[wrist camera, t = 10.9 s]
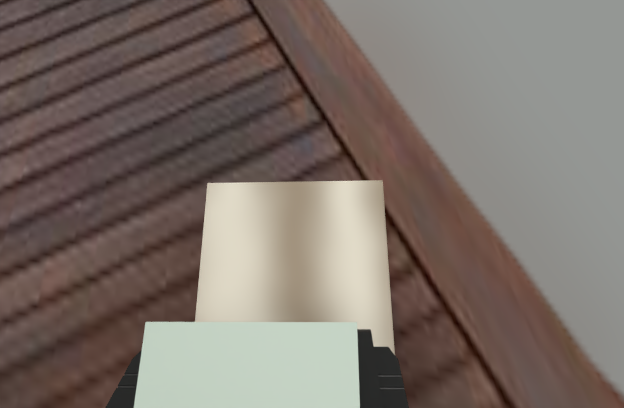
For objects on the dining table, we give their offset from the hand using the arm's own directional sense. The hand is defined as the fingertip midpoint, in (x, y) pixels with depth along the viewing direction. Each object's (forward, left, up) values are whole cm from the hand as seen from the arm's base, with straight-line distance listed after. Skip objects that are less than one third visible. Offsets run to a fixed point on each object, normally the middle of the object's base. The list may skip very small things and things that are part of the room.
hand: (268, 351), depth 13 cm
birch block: (-1, +4, -16) cm, 16 cm away
